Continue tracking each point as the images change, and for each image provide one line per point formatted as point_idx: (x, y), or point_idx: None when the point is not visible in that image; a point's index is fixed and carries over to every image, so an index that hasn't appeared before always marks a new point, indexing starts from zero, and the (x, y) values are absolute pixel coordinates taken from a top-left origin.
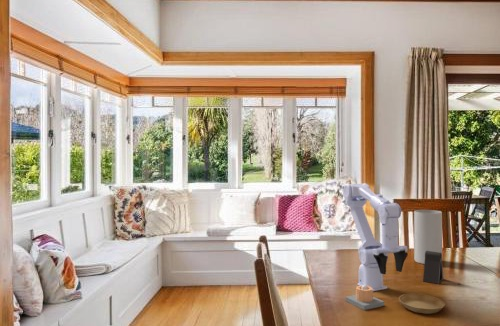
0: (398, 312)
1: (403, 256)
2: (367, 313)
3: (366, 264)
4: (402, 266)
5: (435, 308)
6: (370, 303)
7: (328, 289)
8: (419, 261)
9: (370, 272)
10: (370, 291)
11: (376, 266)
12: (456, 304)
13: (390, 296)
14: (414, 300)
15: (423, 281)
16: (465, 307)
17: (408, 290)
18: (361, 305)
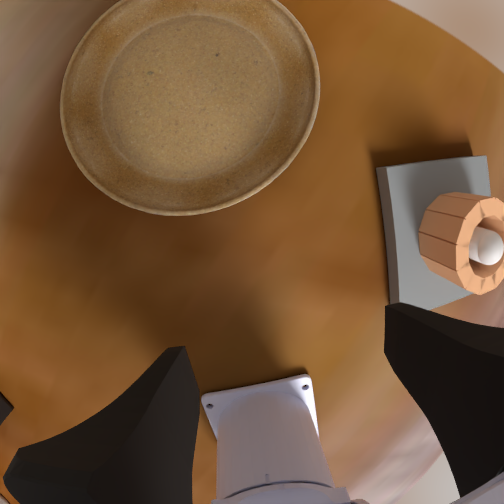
0: (353, 68)
1: (105, 453)
2: (474, 120)
3: (360, 499)
4: (148, 372)
5: (129, 60)
6: (455, 169)
7: None
8: (4, 502)
9: (321, 462)
10: (478, 199)
11: (296, 488)
12: (7, 111)
13: (256, 292)
14: (165, 180)
15: (12, 406)
16: (4, 75)
17: (106, 347)
18: (485, 173)
